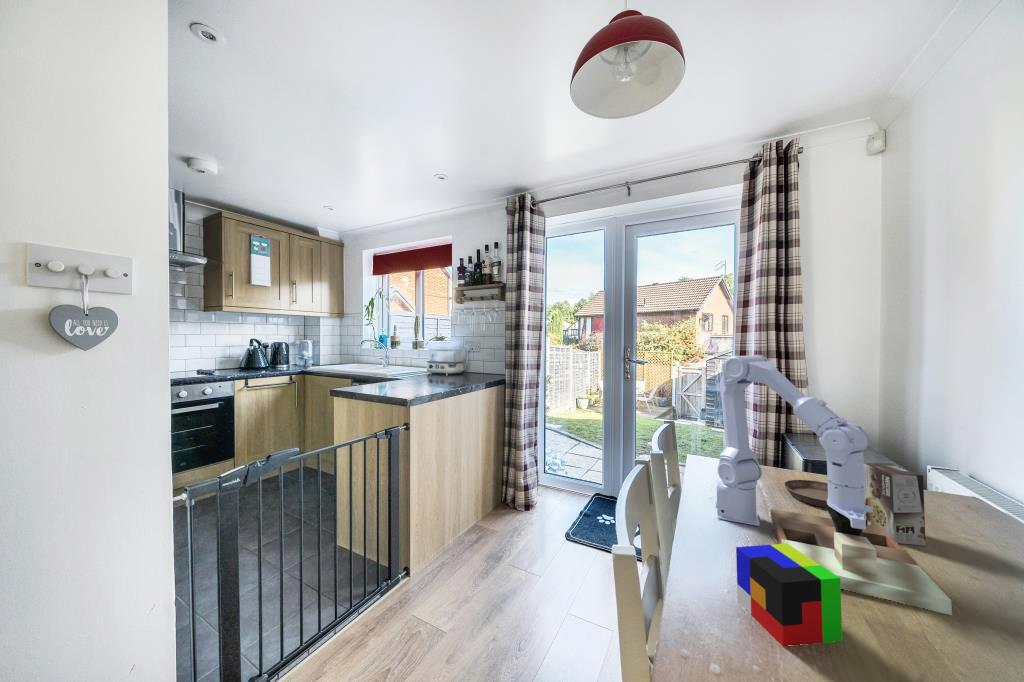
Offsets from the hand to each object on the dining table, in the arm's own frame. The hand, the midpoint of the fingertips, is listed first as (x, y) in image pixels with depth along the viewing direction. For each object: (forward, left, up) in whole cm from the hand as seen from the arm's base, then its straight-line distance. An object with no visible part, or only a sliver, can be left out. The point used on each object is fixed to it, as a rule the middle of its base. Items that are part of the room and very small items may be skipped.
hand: (847, 548), depth 75 cm
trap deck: (0, +5, -4) cm, 6 cm away
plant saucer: (+4, +40, -4) cm, 40 cm away
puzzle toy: (-14, -23, -4) cm, 28 cm away
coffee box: (+14, +22, -4) cm, 26 cm away
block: (0, -4, -1) cm, 4 cm away
